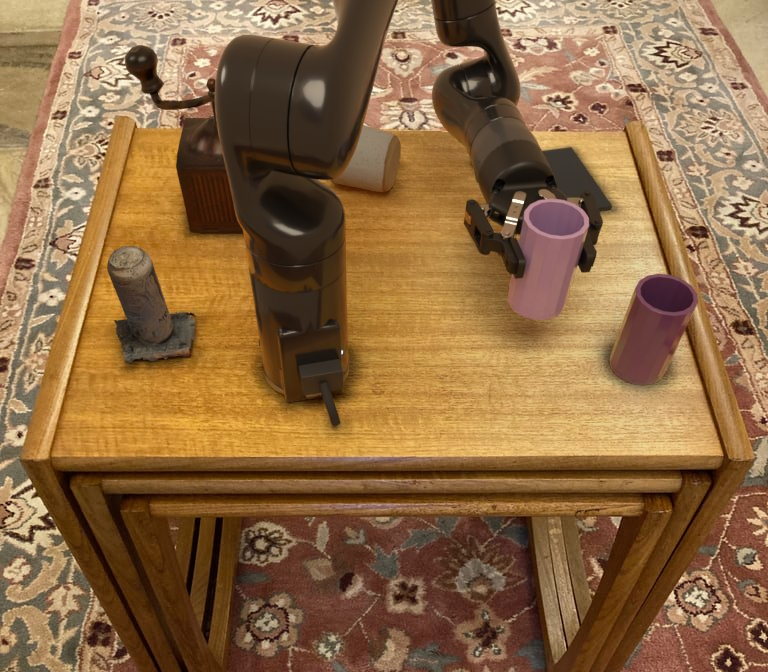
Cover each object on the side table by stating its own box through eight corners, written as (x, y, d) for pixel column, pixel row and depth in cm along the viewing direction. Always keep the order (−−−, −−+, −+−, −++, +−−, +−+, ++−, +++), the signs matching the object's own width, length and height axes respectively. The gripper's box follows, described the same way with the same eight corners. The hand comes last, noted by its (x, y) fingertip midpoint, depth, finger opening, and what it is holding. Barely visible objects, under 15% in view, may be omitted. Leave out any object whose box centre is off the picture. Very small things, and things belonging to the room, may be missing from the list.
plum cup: (674, 379, 84) (709, 309, 76) (623, 389, 83) (652, 319, 75) (650, 341, 87) (680, 269, 79) (600, 350, 86) (625, 278, 78)
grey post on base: (125, 373, 82) (93, 284, 72) (114, 326, 86) (82, 236, 76) (208, 355, 84) (187, 265, 74) (194, 309, 88) (172, 219, 78)
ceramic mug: (387, 205, 100) (389, 149, 94) (328, 194, 101) (326, 137, 95) (407, 162, 106) (410, 106, 100) (351, 152, 107) (350, 96, 101)
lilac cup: (574, 315, 80) (599, 233, 72) (519, 324, 79) (538, 242, 71) (552, 277, 83) (574, 195, 75) (499, 285, 82) (514, 203, 74)
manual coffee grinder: (275, 182, 102) (260, 39, 87) (271, 234, 96) (255, 89, 81) (158, 182, 102) (123, 38, 87) (147, 234, 96) (107, 89, 81)
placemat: (611, 209, 101) (612, 205, 100) (512, 224, 99) (512, 220, 98) (570, 150, 108) (571, 146, 108) (477, 163, 106) (478, 159, 105)
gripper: (450, 142, 80) (489, 242, 71) (581, 133, 82) (636, 229, 72) (444, 205, 86) (479, 305, 77) (565, 196, 88) (614, 292, 79)
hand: (555, 268), depth 75 cm, fingers closed on lilac cup, 6 cm apart
